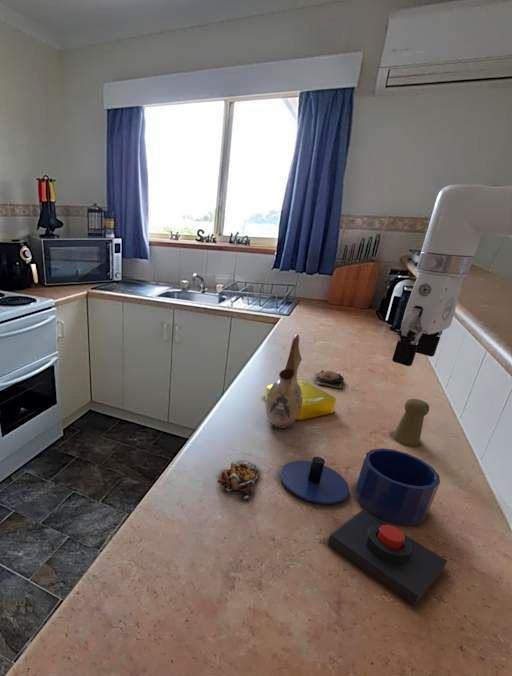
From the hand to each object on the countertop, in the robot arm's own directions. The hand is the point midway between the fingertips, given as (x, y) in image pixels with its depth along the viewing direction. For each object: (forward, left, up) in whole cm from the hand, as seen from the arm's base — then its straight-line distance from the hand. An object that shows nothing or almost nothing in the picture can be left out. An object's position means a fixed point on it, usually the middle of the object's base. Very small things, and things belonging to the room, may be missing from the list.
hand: (413, 358), depth 74 cm
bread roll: (+36, -42, -28) cm, 62 cm away
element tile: (+31, -17, -28) cm, 45 cm away
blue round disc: (+7, +12, -28) cm, 31 cm away
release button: (-11, +19, -25) cm, 33 cm away
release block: (-11, +19, -28) cm, 36 cm away
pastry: (+17, +24, -28) cm, 41 cm away
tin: (-5, +4, -28) cm, 29 cm away
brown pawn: (+4, -25, -28) cm, 38 cm away
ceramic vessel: (+27, -3, -28) cm, 39 cm away
